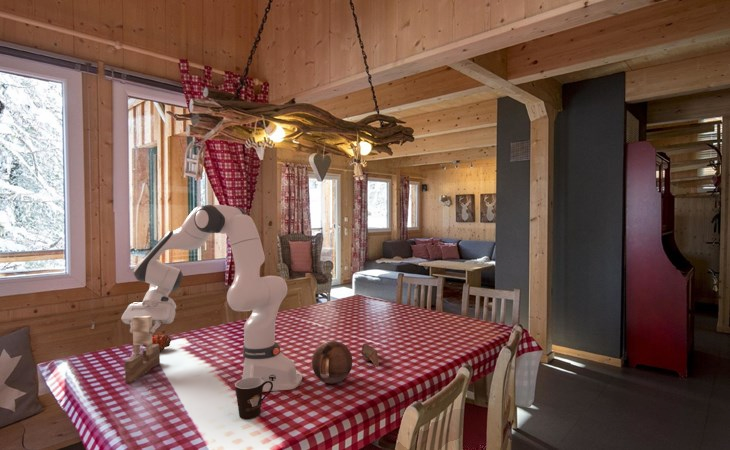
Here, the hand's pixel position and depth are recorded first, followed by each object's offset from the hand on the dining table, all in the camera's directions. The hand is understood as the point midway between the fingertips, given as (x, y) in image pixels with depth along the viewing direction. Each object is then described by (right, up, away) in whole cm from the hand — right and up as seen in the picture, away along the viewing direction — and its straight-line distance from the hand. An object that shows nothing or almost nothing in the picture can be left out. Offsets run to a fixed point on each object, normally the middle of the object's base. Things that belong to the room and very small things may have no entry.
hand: (141, 332), depth 161 cm
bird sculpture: (+91, -15, +9) cm, 93 cm away
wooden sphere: (+77, -16, -11) cm, 79 cm away
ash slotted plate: (0, -9, +1) cm, 9 cm away
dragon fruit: (-7, -16, +26) cm, 32 cm away
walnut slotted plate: (0, -16, +1) cm, 16 cm away
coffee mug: (+54, -17, -34) cm, 66 cm away
